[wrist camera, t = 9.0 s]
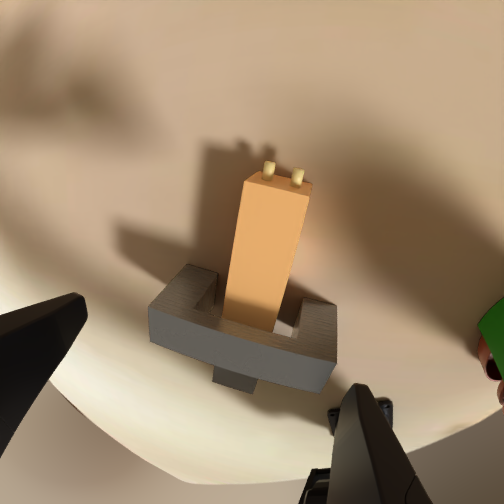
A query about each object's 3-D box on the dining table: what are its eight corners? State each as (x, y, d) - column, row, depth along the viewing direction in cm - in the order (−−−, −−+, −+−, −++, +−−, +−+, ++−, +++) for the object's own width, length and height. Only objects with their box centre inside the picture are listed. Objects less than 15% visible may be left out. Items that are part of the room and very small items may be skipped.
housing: (324, 336, 22) (319, 393, 16) (184, 296, 23) (150, 341, 18) (337, 305, 20) (336, 363, 15) (186, 264, 22) (147, 306, 17)
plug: (261, 365, 24) (252, 394, 21) (224, 354, 25) (212, 381, 22) (316, 168, 17) (314, 177, 14) (261, 155, 17) (247, 162, 14)
